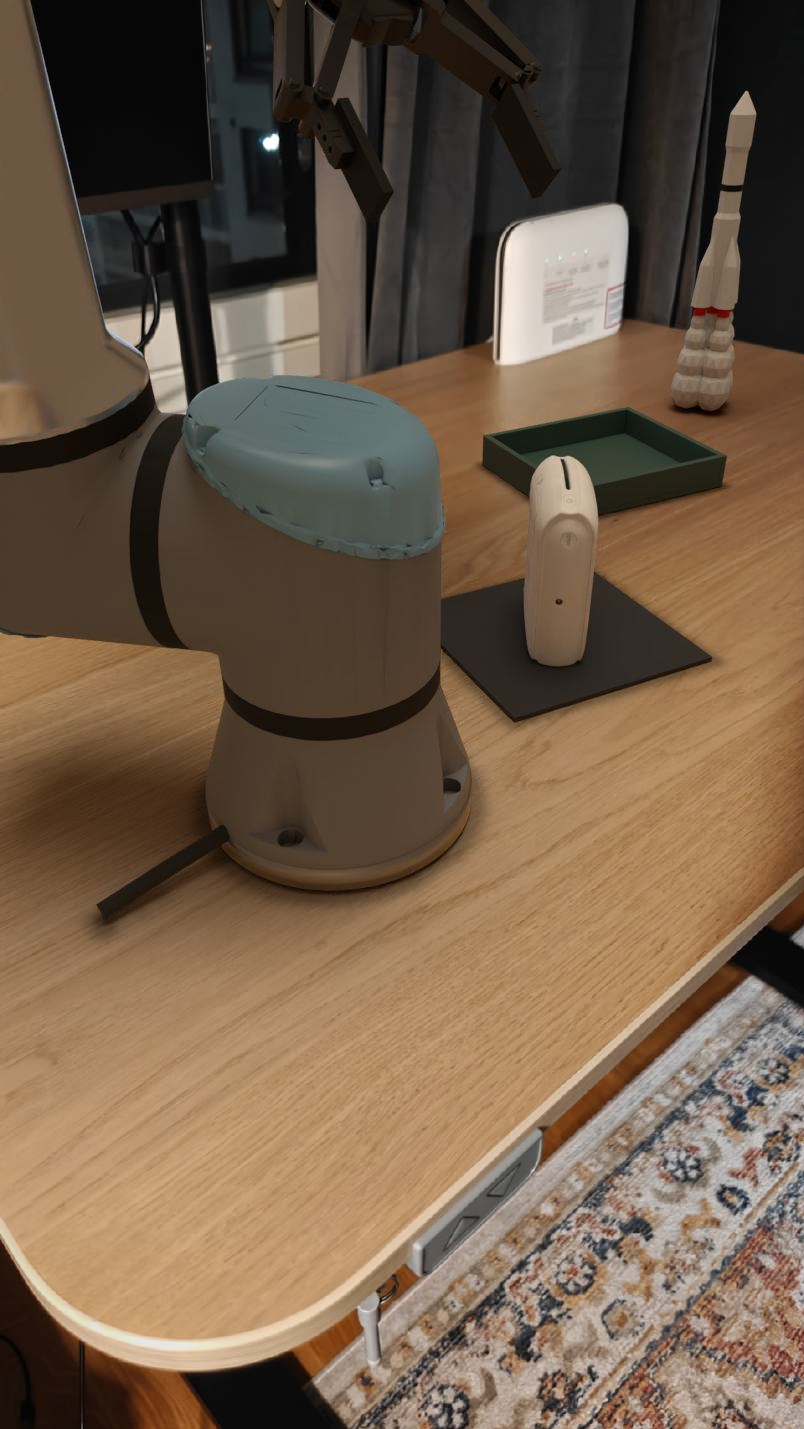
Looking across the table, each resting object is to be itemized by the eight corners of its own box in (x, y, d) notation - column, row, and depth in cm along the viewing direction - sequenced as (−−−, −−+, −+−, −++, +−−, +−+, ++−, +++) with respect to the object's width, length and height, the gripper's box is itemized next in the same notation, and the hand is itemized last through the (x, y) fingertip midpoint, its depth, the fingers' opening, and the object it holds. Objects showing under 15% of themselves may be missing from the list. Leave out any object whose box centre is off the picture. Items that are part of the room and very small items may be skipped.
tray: (567, 523, 89) (569, 491, 88) (481, 464, 101) (482, 435, 99) (722, 486, 95) (727, 455, 94) (625, 434, 106) (628, 406, 105)
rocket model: (652, 401, 115) (691, 90, 97) (706, 391, 117) (754, 86, 100) (691, 421, 109) (740, 96, 92) (747, 411, 112) (805, 91, 94)
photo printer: (588, 669, 70) (607, 501, 63) (525, 668, 70) (537, 500, 63) (576, 596, 78) (591, 440, 71) (520, 595, 78) (530, 439, 71)
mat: (514, 721, 65) (514, 718, 65) (405, 611, 77) (405, 608, 77) (711, 660, 71) (712, 656, 71) (582, 566, 83) (582, 562, 83)
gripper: (453, -39, 75) (577, 211, 74) (139, -37, 64) (281, 260, 63) (502, -138, 69) (640, 134, 68) (163, -156, 57) (321, 173, 56)
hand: (468, 196), depth 65 cm, fingers open, 13 cm apart
